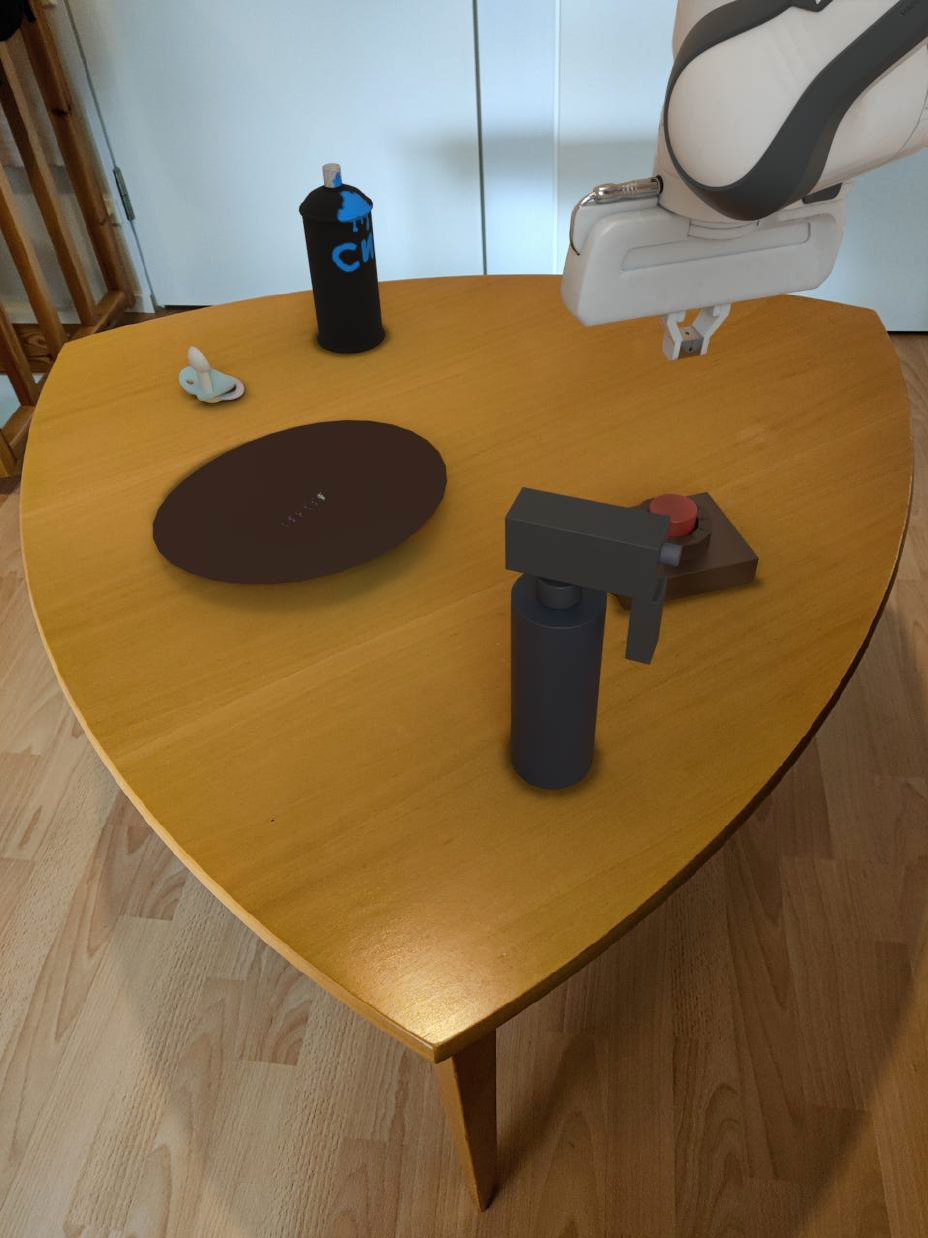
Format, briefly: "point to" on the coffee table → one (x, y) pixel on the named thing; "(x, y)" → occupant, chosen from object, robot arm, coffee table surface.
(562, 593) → the spray bottle
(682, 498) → the button
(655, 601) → the block
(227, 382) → the pacifier
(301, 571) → the plate
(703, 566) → the button block
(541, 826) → the coffee table surface
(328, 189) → the aerosol can
